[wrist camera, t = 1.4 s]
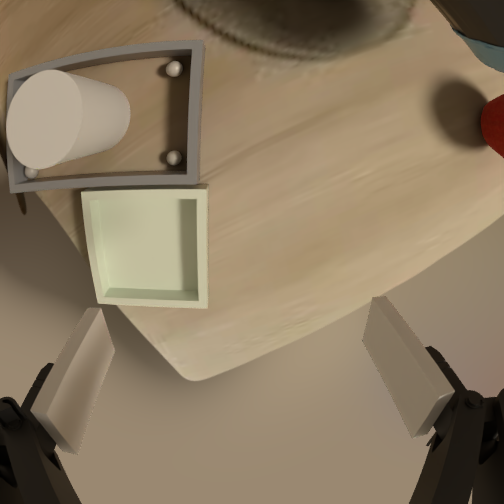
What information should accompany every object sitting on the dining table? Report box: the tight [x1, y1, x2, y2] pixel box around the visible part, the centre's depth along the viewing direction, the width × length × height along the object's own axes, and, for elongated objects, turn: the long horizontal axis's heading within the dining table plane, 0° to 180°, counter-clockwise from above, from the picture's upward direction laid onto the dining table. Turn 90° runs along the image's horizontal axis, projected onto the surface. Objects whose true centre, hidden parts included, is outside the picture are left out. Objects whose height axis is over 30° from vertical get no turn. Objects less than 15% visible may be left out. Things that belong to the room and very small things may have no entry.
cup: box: [6, 70, 130, 169], centre depth 23 cm, size 8×8×12 cm
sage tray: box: [81, 184, 209, 308], centre depth 34 cm, size 14×14×3 cm
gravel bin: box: [6, 40, 205, 193], centre depth 27 cm, size 15×24×3 cm, turn 87°
